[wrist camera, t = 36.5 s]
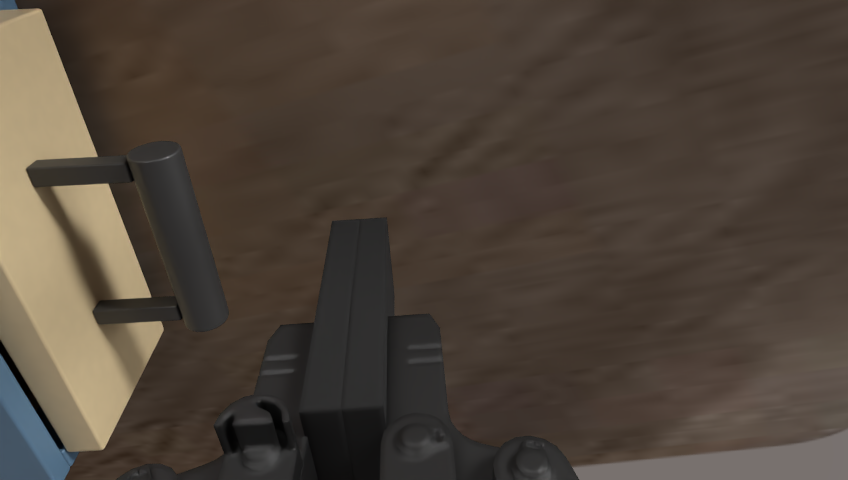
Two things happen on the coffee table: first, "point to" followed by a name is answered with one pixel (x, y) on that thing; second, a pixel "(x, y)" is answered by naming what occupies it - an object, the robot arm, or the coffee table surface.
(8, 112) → the drawer
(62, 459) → the cabinet
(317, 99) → the coffee table surface
